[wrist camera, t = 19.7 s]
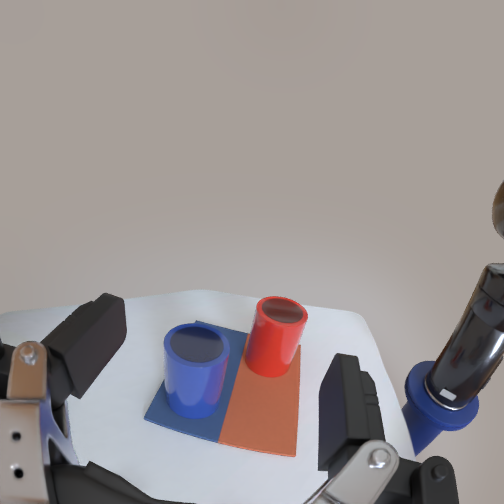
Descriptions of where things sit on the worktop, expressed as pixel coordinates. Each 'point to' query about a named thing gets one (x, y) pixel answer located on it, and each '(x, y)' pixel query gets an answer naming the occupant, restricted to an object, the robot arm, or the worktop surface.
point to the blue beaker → (195, 369)
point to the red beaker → (275, 336)
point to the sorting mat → (243, 406)
